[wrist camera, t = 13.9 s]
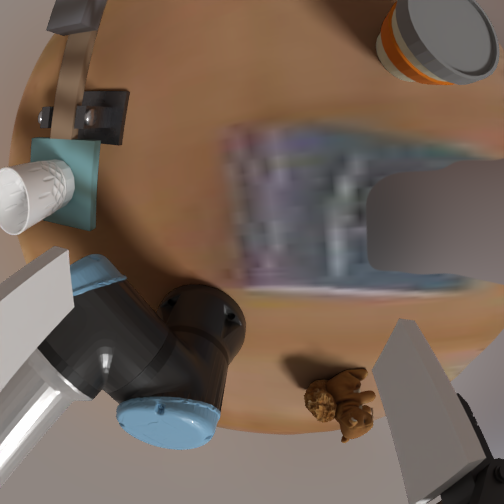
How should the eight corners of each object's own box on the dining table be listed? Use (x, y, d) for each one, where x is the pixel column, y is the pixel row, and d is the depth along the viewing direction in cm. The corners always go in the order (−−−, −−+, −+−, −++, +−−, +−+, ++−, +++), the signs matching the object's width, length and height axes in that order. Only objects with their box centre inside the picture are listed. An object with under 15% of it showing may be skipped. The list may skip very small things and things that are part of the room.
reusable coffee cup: (436, 28, 28) (491, 1, 14) (441, 101, 33) (505, 97, 19) (361, 8, 29) (397, -38, 15) (364, 85, 34) (410, 63, 20)
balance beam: (95, 227, 37) (74, 241, 32) (36, 214, 37) (14, 225, 32) (133, -7, 25) (115, -22, 20) (65, 5, 25) (44, -4, 19)
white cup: (80, 211, 35) (33, 237, 26) (41, 210, 35) (-5, 233, 26) (77, 153, 32) (25, 164, 23) (37, 156, 32) (-13, 169, 23)
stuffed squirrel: (357, 400, 55) (368, 450, 43) (294, 397, 55) (295, 450, 43) (375, 368, 51) (392, 420, 39) (306, 363, 52) (312, 419, 39)
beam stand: (121, 144, 39) (92, 149, 31) (62, 140, 39) (29, 145, 31) (129, 92, 36) (101, 86, 28) (68, 92, 36) (36, 90, 28)
